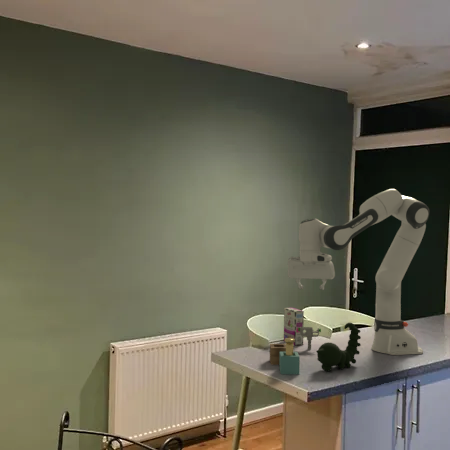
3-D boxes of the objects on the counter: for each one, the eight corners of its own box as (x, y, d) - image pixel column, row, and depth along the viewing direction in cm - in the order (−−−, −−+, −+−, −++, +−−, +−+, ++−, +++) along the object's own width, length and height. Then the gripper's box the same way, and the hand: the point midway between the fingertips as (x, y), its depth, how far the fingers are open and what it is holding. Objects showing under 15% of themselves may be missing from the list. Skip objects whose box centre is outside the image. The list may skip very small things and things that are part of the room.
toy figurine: (346, 364, 229) (306, 369, 213) (349, 320, 230) (309, 322, 214) (364, 369, 222) (324, 375, 206) (367, 323, 222) (327, 326, 207)
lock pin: (292, 369, 215) (292, 337, 215) (295, 372, 211) (296, 339, 211) (283, 370, 215) (283, 338, 214) (286, 373, 211) (286, 340, 210)
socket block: (297, 368, 216) (297, 351, 216) (299, 374, 209) (299, 356, 209) (279, 368, 217) (279, 351, 216) (280, 374, 209) (281, 356, 209)
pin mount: (286, 360, 230) (286, 343, 229) (288, 364, 222) (288, 348, 222) (269, 359, 230) (269, 343, 229) (270, 364, 222) (271, 347, 222)
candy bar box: (303, 345, 256) (304, 310, 255) (294, 346, 254) (295, 311, 253) (292, 339, 266) (292, 306, 266) (283, 340, 264) (283, 307, 264)
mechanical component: (320, 350, 245) (320, 328, 245) (298, 349, 247) (298, 327, 247) (320, 349, 248) (320, 327, 248) (298, 347, 250) (298, 326, 250)
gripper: (284, 257, 230) (285, 289, 230) (330, 257, 220) (331, 291, 220) (290, 256, 236) (291, 287, 236) (335, 256, 225) (336, 289, 226)
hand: (311, 289), depth 228 cm, fingers open, 8 cm apart
